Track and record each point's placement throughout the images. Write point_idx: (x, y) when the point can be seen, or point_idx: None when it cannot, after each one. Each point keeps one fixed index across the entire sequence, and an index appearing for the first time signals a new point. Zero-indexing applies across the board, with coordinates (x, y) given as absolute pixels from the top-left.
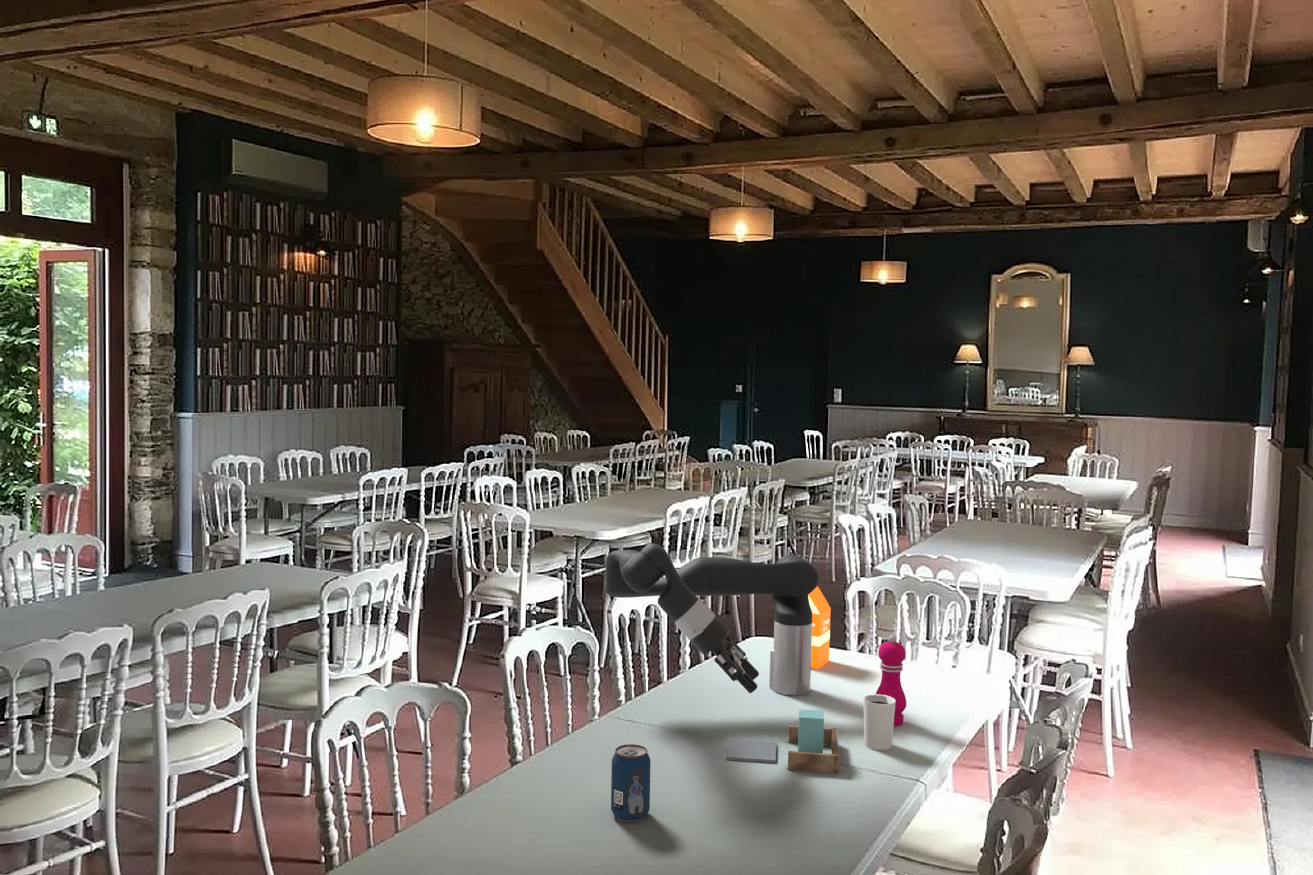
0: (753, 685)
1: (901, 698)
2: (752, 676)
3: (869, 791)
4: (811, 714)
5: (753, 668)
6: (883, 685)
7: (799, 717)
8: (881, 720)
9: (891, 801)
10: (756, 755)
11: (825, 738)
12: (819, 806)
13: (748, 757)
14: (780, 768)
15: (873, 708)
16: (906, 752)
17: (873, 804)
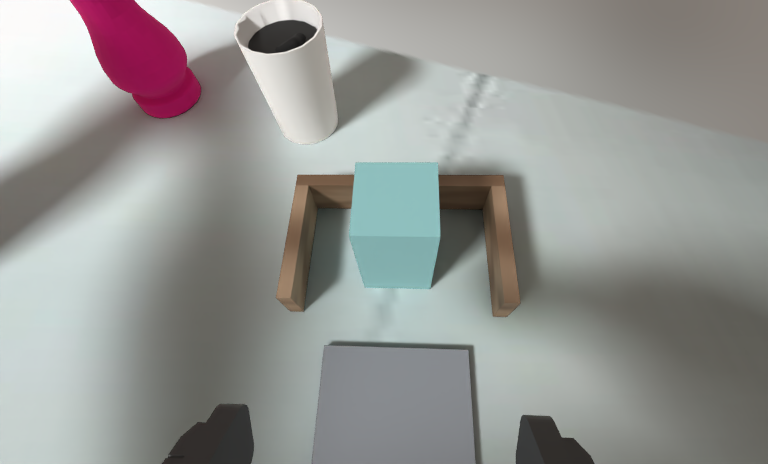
0: (576, 450)
1: (164, 26)
2: (242, 455)
3: (574, 148)
4: (400, 197)
5: (217, 454)
6: (122, 28)
7: (439, 236)
8: (328, 62)
9: (608, 116)
10: (441, 412)
11: (312, 212)
12: (711, 245)
13: (465, 441)
14: (500, 337)
15: (317, 50)
16: (345, 81)
17: (640, 145)
